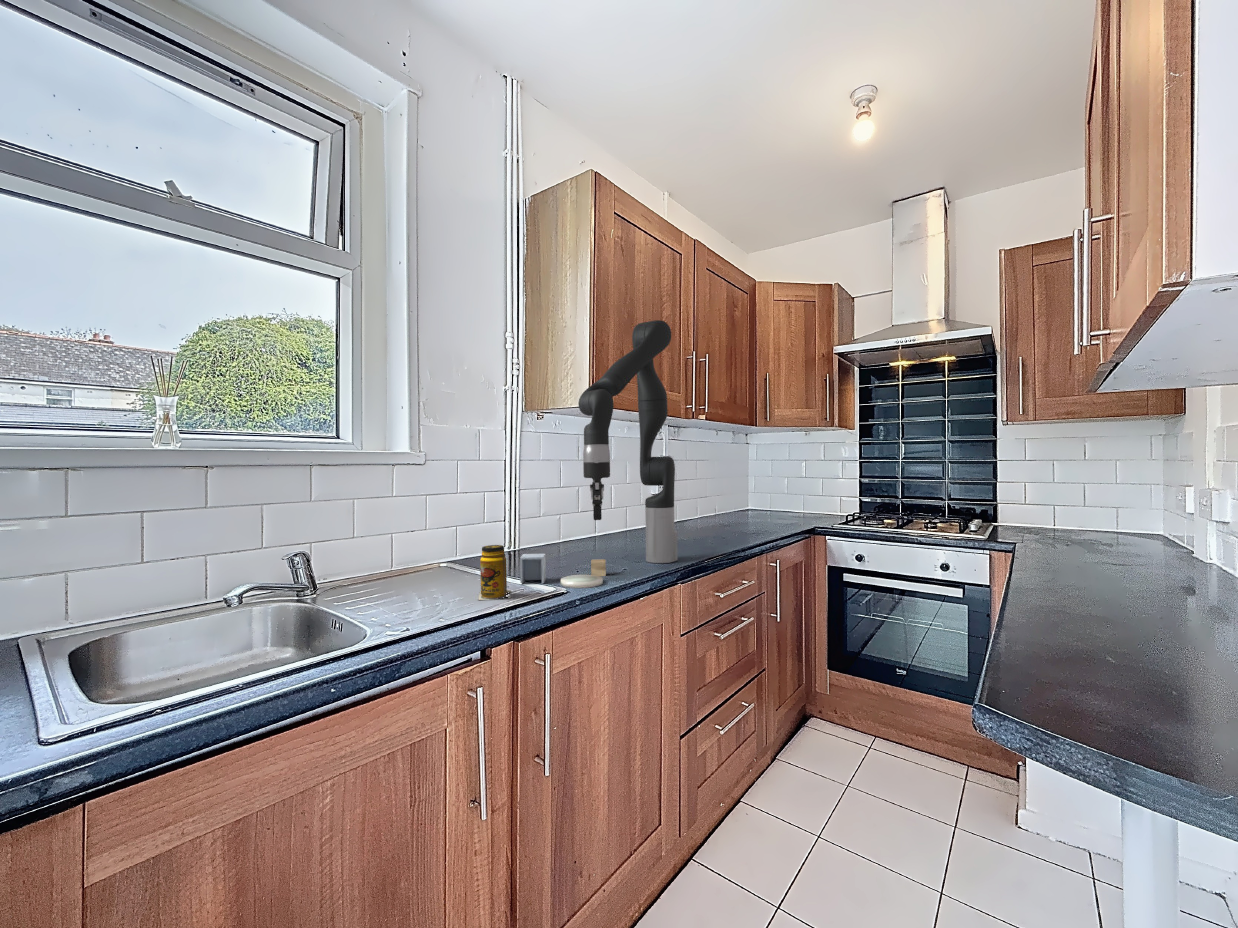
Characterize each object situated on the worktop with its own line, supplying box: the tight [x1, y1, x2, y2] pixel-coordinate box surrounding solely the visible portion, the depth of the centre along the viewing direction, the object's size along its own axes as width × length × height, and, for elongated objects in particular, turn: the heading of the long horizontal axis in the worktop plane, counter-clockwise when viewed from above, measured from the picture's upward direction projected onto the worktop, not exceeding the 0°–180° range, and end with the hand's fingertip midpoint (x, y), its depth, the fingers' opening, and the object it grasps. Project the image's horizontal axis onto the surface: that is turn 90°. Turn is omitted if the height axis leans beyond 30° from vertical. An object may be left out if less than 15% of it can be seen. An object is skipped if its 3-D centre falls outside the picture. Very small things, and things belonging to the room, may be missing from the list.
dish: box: [560, 574, 604, 589], centre depth 146 cm, size 11×11×1 cm
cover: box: [519, 553, 547, 584], centre depth 148 cm, size 6×6×7 cm
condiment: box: [478, 544, 511, 601], centre depth 133 cm, size 7×8×12 cm
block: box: [590, 559, 607, 577], centre depth 157 cm, size 4×4×4 cm
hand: (597, 518), depth 157 cm, fingers open, 8 cm apart
